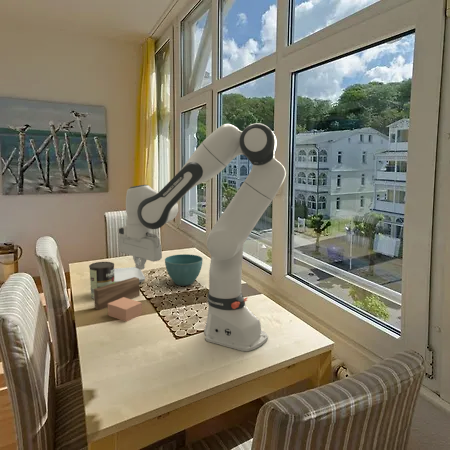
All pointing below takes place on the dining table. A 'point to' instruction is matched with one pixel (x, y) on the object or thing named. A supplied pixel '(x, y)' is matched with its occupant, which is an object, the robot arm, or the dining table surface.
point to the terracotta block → (124, 309)
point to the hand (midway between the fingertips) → (140, 268)
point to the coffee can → (101, 275)
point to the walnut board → (116, 292)
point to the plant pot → (183, 268)
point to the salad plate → (128, 274)
